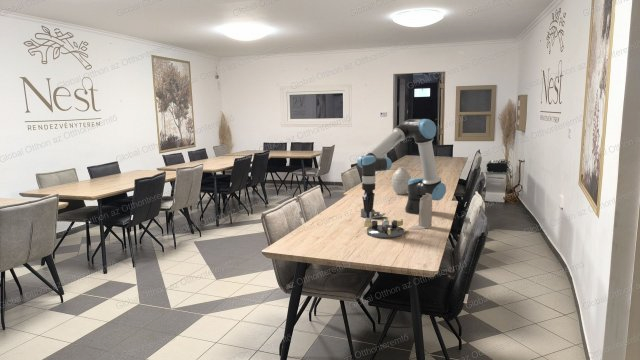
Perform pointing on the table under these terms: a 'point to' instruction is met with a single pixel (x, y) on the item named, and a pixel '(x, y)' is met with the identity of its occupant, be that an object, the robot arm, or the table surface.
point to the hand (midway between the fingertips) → (368, 222)
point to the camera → (372, 214)
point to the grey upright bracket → (425, 212)
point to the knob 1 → (371, 224)
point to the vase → (400, 181)
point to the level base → (381, 231)
